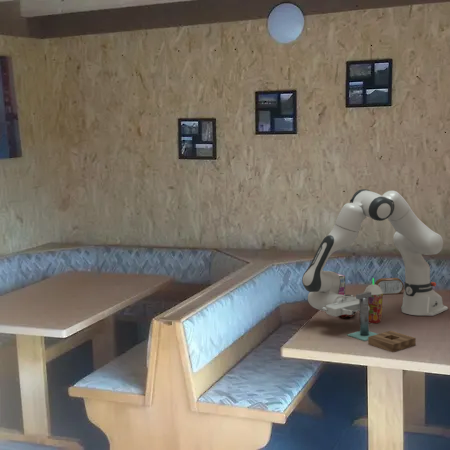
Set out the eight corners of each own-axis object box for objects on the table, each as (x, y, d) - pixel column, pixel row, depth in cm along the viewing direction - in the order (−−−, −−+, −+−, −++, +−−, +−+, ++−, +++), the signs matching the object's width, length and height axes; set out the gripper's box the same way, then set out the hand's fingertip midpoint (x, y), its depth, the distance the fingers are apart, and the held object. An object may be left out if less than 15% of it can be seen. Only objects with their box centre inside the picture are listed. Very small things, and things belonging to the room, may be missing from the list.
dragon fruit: (349, 315, 314) (346, 326, 303) (335, 305, 315) (331, 315, 304) (360, 302, 311) (357, 313, 300) (345, 292, 312) (341, 302, 301)
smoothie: (360, 322, 298) (360, 278, 295) (370, 318, 304) (369, 275, 301) (377, 325, 292) (376, 281, 289) (386, 321, 298) (386, 277, 295)
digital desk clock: (402, 292, 348) (402, 276, 347) (404, 294, 345) (404, 278, 344) (374, 294, 347) (374, 278, 346) (375, 295, 344) (375, 279, 343)
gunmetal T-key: (367, 332, 281) (366, 291, 279) (373, 333, 278) (372, 292, 276) (355, 335, 278) (354, 294, 275) (361, 337, 275) (360, 295, 272)
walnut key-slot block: (390, 337, 275) (390, 330, 274) (415, 345, 264) (415, 337, 263) (368, 344, 267) (368, 336, 267) (393, 352, 257) (393, 344, 256)
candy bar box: (346, 308, 321) (345, 275, 319) (337, 310, 319) (336, 276, 317) (333, 303, 331) (333, 271, 329) (325, 305, 329) (324, 272, 327)
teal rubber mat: (364, 330, 285) (364, 329, 285) (381, 336, 277) (381, 335, 277) (347, 335, 279) (347, 334, 279) (364, 341, 271) (364, 340, 271)
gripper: (319, 301, 284) (342, 307, 272) (353, 293, 295) (377, 299, 284) (319, 315, 284) (342, 322, 273) (353, 307, 296) (377, 313, 284)
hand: (360, 310), depth 278 cm, fingers open, 8 cm apart
